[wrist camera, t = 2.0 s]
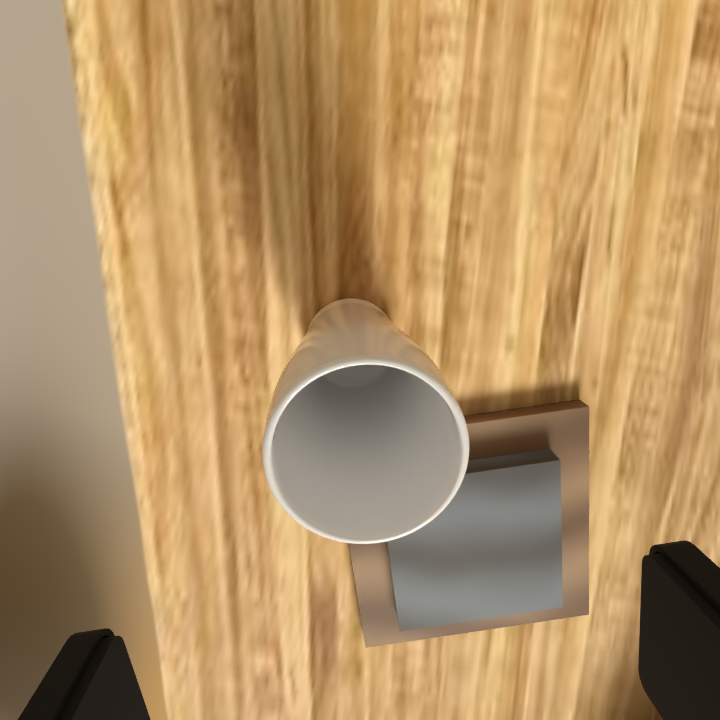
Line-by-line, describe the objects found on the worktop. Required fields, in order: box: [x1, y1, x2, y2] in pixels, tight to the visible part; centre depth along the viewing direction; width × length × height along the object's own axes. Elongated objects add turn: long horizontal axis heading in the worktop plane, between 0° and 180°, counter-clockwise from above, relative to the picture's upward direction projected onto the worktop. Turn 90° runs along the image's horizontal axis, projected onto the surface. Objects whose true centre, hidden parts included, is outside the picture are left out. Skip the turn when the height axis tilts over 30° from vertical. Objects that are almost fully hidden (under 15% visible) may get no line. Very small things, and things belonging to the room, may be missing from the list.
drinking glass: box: [262, 298, 469, 544], centre depth 23 cm, size 7×7×15 cm
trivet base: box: [349, 400, 589, 648], centre depth 33 cm, size 16×16×3 cm
